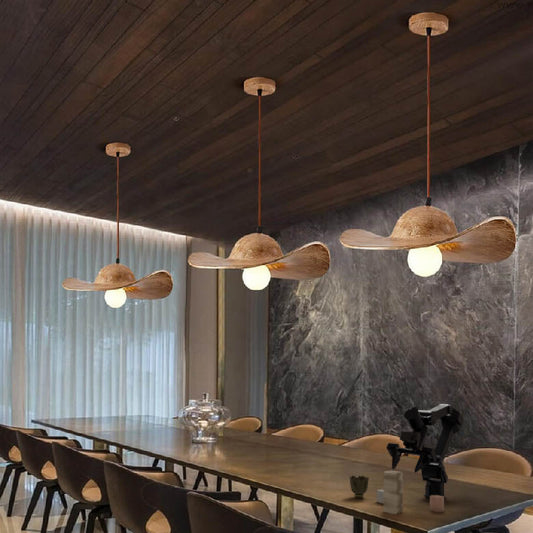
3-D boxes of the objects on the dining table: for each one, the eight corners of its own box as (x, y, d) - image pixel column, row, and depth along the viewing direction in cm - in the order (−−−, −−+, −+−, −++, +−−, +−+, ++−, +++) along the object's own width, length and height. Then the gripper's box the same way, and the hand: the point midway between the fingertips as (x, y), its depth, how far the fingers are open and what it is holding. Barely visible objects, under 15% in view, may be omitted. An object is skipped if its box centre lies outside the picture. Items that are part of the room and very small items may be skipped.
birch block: (390, 509, 259) (390, 470, 261) (402, 511, 256) (402, 472, 258) (383, 512, 255) (383, 472, 257) (395, 514, 252) (395, 473, 254)
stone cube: (386, 500, 275) (386, 488, 275) (393, 503, 271) (393, 491, 271) (376, 501, 272) (376, 489, 273) (384, 504, 269) (384, 492, 269)
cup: (366, 495, 283) (366, 475, 284) (370, 499, 275) (370, 478, 276) (348, 495, 283) (348, 475, 283) (351, 499, 275) (351, 478, 276)
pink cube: (439, 508, 263) (438, 494, 263) (446, 511, 258) (446, 497, 259) (427, 509, 261) (427, 495, 262) (434, 512, 256) (434, 498, 257)
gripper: (388, 421, 275) (374, 453, 266) (433, 425, 264) (419, 459, 254) (398, 440, 281) (384, 472, 271) (442, 445, 269) (429, 478, 259)
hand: (403, 470), depth 264 cm, fingers open, 9 cm apart
